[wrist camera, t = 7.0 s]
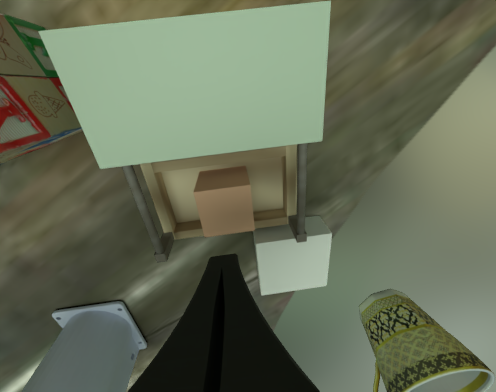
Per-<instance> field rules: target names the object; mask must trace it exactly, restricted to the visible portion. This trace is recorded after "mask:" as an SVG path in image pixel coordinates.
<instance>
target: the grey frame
mask: <svg viewBox="0 0 496 392" xmlns="http://www.w3.org/2000/svg"><path fill="white" fill-rule="evenodd" d="M140 166H141V169H142V172H143V174H144V177H145V180H146V183H147V186H148V188H149V191H150V194H151V197H152V200H153V203H154V205H155V208H156V211H157V214H158V217H159V219H160V222H161V225H162V228H163V231H164V232H163V235H162V237H161V240H160V238H159V235H158V233H157V230H156V227H155V225H154V222H153V219H152V217H151V214H150V211H149V209H148V206H147V203H146V201H145V198H144V195H143V193H142V190H141V187H140V185H139V182H138V179H137V177H136V174H135V171H134V169H133V166H132V165H128V166H122V169H123V171H124V174H125V176H126V179H127V181H128V184H129V186H130V189H131V191H132V194H133V196H134V199H135V201H136V204H137V206H138V209H139V211H140V214H141V216H142V219H143V221H144V224H145V226H146V229H147V231H148V234H149V236H150V239H151V241H152V244H153V246H154V249H155V251H156V252H155V254H154V256H155V259H156V261H157V263H158V262H165V261H167V260H168V257H169V254H170V251H171V248H172V245H173V242H174V240H176V239H184V238H191V237H198V236H204V233H203V229H202V225H201V221H200V217H199V213H198V209H197V205H196V201H195V197H194V193H193V192H194V189H195V185H196V182H197V178H198V175H199V172H200V171H207V170H215V169H223V168H231V167H238V166H246V169H247V173H248V178H249V182H250V187H251V197H252V206H253V216H254V225H255V229H256V228H263V227H271V226H278V225H285V224H289V226H290V228H291V230H292V232H293V235H294V237H295V239H296V241H297V243H299V242H307V233H306V231H305V207H306V172H307V143H303V144H298V191H297V144H295V145H287V146H279V147H271V148H263V149H255V150H247V151H239V152H231V153H223V154H215V155H207V156H199V157H191V158H183V159H175V160H167V161H160V162H152V163H144V164H140ZM296 194H297V214H296Z"/></svg>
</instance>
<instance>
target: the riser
mask: <svg viewBox="0 0 496 392" xmlns="http://www.w3.org/2000/svg"><path fill="white" fill-rule="evenodd" d="M305 231H306V233H307V242H299V243H297V241H296V239H295V237H294V235H293V232H292V230H291V228H290V226H289V224H285V225H278V226H271V227H263V228H256V229H255V231H253V237H254V246H255V254H256V263H257V272H258V279H259V285H260V290H261V295H268V294H275V293H281V292H288V291H295V290H301V289H308V288H315V287H322V286H327V277H328V267H329V256H330V247H331V238H332V233H331V231H330V230H329V228H328V227H327V226H326V224H325V223H324V221H323V220H322V218H321V217H320V216H312V217H305Z"/></svg>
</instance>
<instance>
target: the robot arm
mask: <svg viewBox="0 0 496 392" xmlns="http://www.w3.org/2000/svg"><path fill="white" fill-rule="evenodd" d="M52 317H53V318H54V319H55V320H56V321H57V322H58V324H59V325H60V326H61V327H62V328H63V330H62V331H61V333H60V334H59V336H58V337H57V339H56V340H55V342H54V343H53V345H52V346H51V348H50V349H49V351H48V352H47V354H46V355H45V357H44V358H43V360H42V361H41V363H40V364H39V366H38V367H37V369H36V370H35V372H34V373H33V375H32V376H31V378H30V379H29V381H28V382H27V384H26V385H25V387H24V389H23V390H22V392H126V389H127V386H128V383H129V380H130V377H131V373H132V370H133V367H134V364H135V361H136V358H137V355H138V352H139V350H140V349H145V348H146V347H147V343H146V341H145V339H144V338H143V336H142V334H141V332H140V331H139V329H138V327H137V325H136V324H135V322H134V320H133V319H132V317H131V315H130V313H129V312H128V310H127V308H126V306H125V305H124V303H123V302H121V301H117V302H110V303H103V304H96V305H89V306H82V307H76V308H69V309H62V310H56V311H54V312H53V313H52ZM128 392H320V391H319V390H318V389H317V387H316V386H315V385H314V384H313V383H312V382H311V380H310V379H309V378H308V377H307V376H306V374H305V373H304V372H303V371H302V370H301V368H300V367H299V366H298V365H297V364H296V362H295V361H294V360H293V358H292V357H291V356H290V355H289V353H288V352H287V350H286V349H285V348H284V346H283V345H282V343H281V342H280V341H279V339H278V338H277V336H276V335H275V334H274V332H273V331H272V329H271V328H270V326H269V325H268V323H267V322H266V320H265V318H264V317H263V315H262V313H261V312H260V310H259V308H258V306H257V305H256V303H255V301H254V299H253V297H252V295H251V293H250V291H249V289H248V287H247V285H246V282H245V280H244V278H243V275H242V272H241V270H240V266H239V262H238V256H237V255H236V254H229V255H221V256H214V257H211V258H210V259H209V261H208V264H207V267H206V270H205V272H204V274H203V277H202V279H201V281H200V283H199V285H198V288H197V290H196V292H195V294H194V296H193V298H192V300H191V301H190V303H189V305H188V307H187V309H186V311H185V312H184V314H183V316H182V317H181V319H180V321H179V322H178V324H177V326H176V327H175V329H174V330H173V332H172V333H171V335H170V336H169V338H168V339H167V341H166V342H165V344H164V345H163V347H162V348H161V349H160V351H159V352H158V354H157V355H156V356H155V358H154V359H153V360H152V362H151V363H150V364H149V366H148V367H147V368H146V369H145V371H144V372H143V373H142V374H141V376H140V377H139V378H138V380H137V381H136V382H135V383H134V385H133V386H132V387H131V388H130V389H129V391H128Z"/></svg>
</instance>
